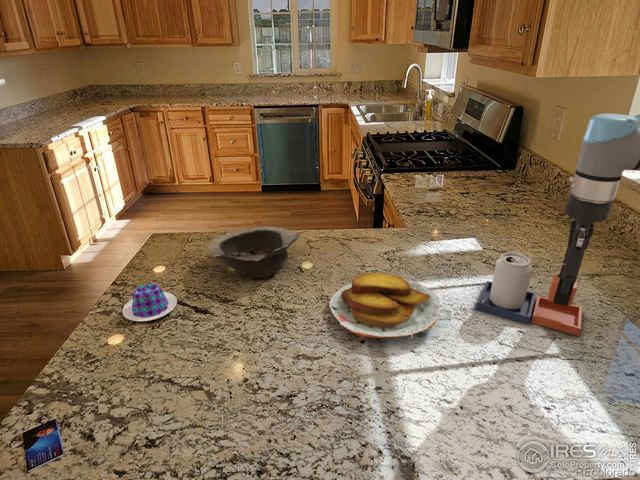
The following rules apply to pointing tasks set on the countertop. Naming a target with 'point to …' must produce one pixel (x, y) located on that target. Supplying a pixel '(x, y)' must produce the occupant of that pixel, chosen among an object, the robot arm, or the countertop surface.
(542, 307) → the terracotta tray
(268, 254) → the stone bowl
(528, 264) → the can
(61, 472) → the countertop surface
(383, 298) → the food on plate
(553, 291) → the block
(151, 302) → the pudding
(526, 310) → the navy tray
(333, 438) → the countertop surface
